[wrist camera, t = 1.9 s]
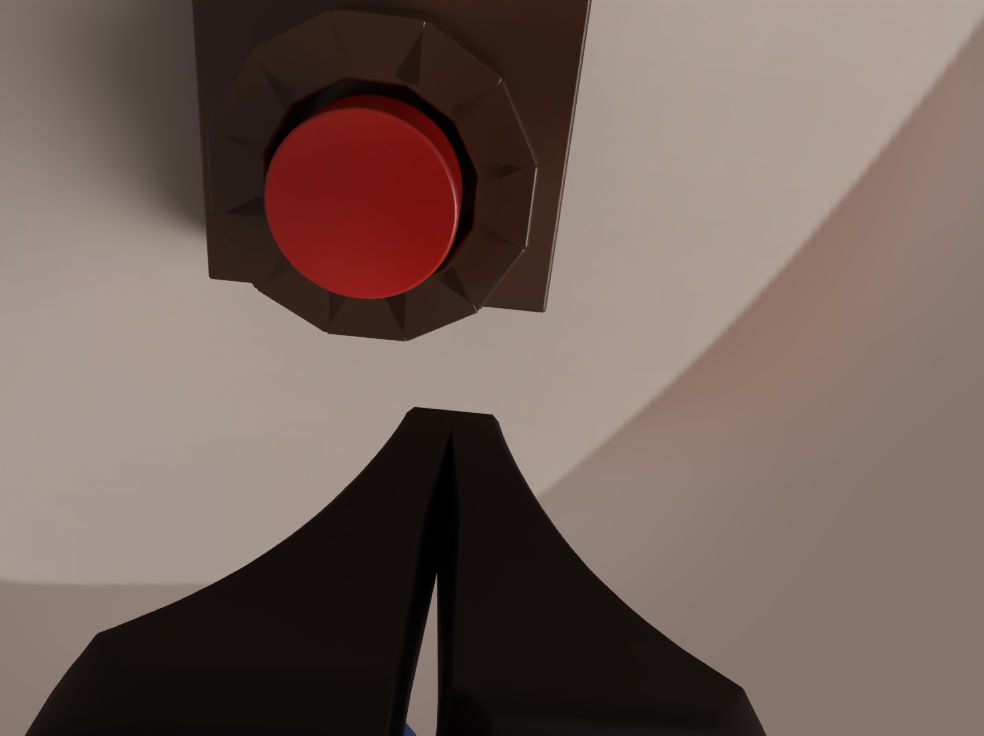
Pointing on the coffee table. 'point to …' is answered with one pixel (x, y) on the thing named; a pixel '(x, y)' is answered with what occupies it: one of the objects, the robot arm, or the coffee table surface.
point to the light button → (365, 196)
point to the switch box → (428, 87)
